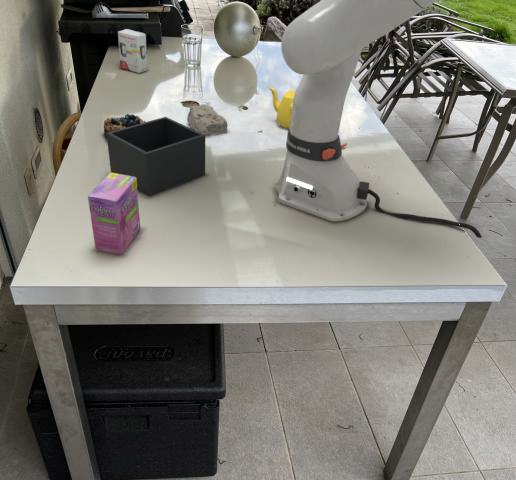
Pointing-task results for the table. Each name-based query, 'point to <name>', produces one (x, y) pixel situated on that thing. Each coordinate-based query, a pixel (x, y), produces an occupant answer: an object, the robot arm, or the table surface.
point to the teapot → (283, 107)
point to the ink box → (132, 50)
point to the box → (114, 213)
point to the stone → (206, 120)
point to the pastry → (121, 123)
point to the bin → (157, 154)
